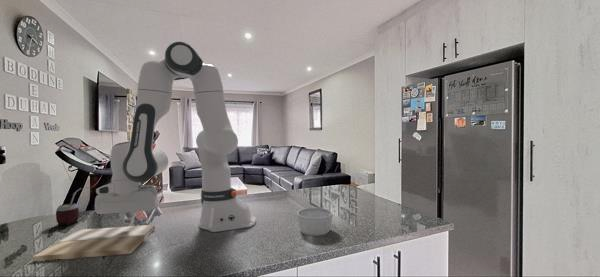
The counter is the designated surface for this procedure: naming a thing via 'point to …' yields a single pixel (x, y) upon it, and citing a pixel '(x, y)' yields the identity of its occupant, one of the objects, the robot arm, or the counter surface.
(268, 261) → the counter surface
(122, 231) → the whitewashed plank
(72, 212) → the mate gourd
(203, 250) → the counter surface
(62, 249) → the laid oak row
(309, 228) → the ramekin
